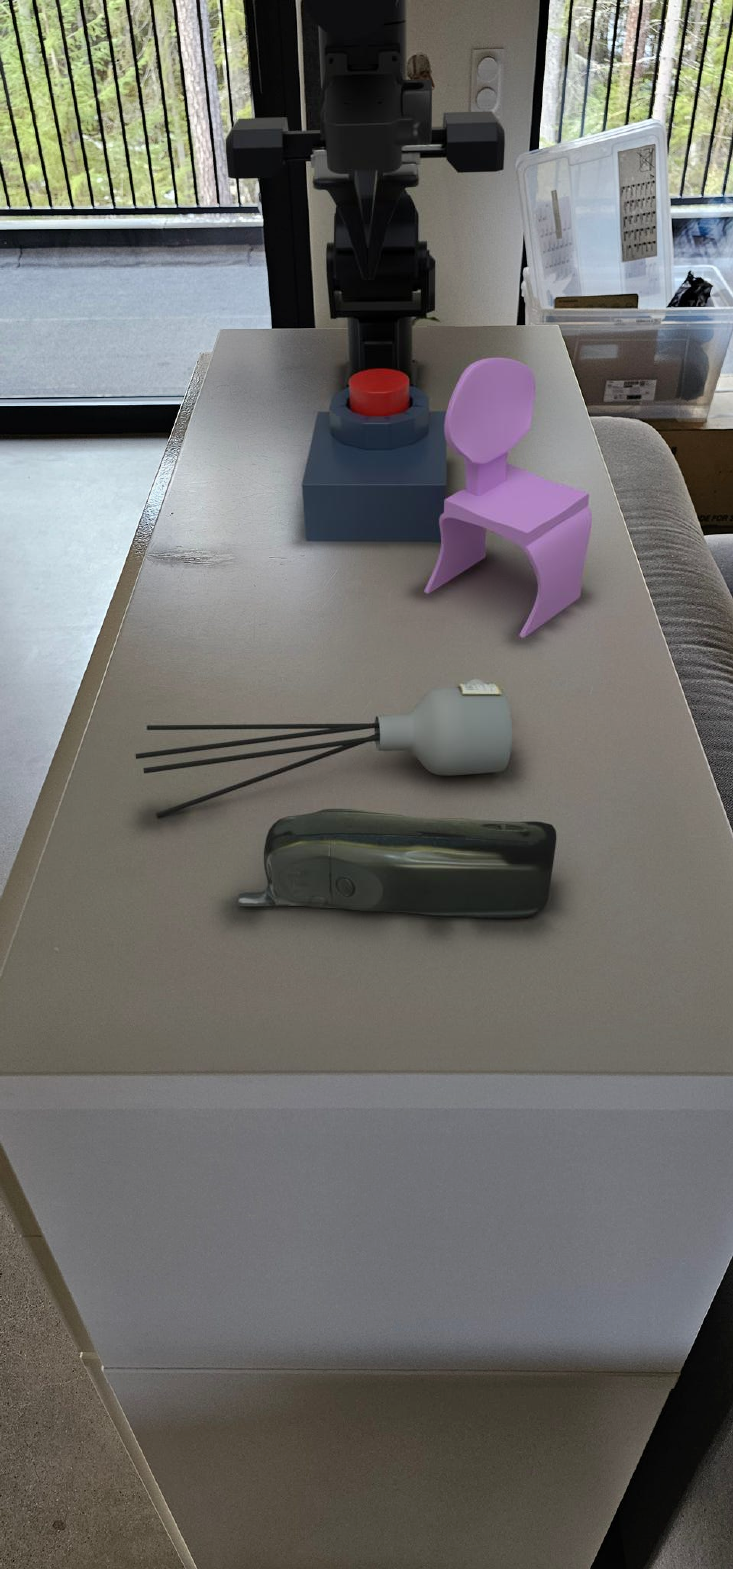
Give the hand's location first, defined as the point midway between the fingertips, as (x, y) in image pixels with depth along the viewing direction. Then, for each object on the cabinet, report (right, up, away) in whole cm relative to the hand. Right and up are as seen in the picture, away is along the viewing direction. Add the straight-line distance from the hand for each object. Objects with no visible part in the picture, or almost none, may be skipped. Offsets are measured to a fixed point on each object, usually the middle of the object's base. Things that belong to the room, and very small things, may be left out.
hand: (368, 278), depth 81 cm
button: (+1, -9, 0) cm, 9 cm away
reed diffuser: (-2, -37, -20) cm, 42 cm away
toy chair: (+9, -25, -8) cm, 28 cm away
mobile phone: (+1, -43, -27) cm, 51 cm away
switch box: (+1, -16, +2) cm, 16 cm away
